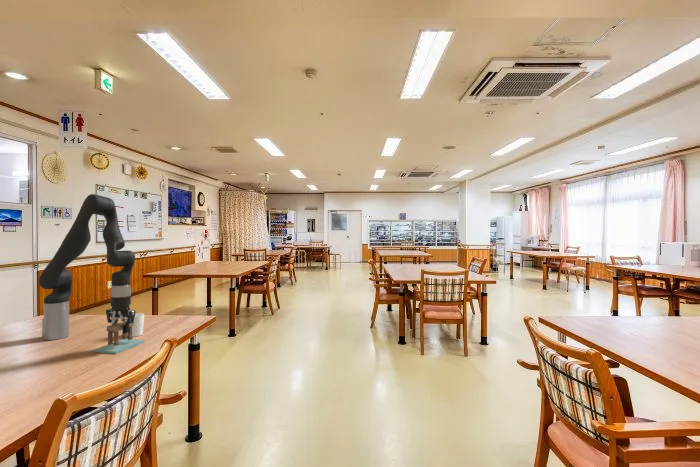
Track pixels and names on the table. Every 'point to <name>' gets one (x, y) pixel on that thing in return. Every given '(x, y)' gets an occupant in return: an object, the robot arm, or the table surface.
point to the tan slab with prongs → (116, 329)
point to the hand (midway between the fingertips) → (120, 332)
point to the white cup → (138, 325)
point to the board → (119, 346)
